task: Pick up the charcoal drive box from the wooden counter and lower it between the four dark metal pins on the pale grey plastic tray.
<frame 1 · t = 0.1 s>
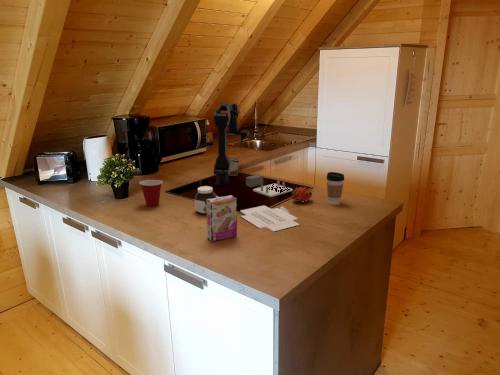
hand: (234, 145, 255), 15 cm above the worktop, tool pointing down, fingers open, 9 cm apart
dragon fruit: (301, 202, 198), on the worktop
food container: (230, 174, 247), on the worktop
coffee cup: (333, 203, 195), on the worktop
spread jar: (209, 211, 186), on the worktop
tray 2: (268, 219, 178), on the worktop
plastic cup: (153, 205, 195), on the worktop
candy bar box: (222, 237, 158), on the worktop
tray: (272, 190, 214), on the worktop
drive: (254, 185, 225), on the worktop
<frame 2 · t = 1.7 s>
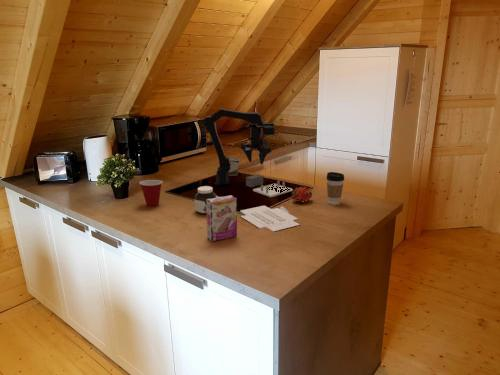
hand: (256, 163, 223), 12 cm above the worktop, tool pointing down, fingers open, 9 cm apart
nothing on the worktop moved.
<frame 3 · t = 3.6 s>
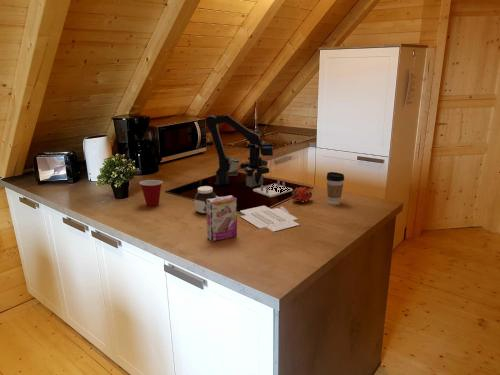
hand: (254, 182, 225), 1 cm above the worktop, tool pointing down, fingers closed on drive, 5 cm apart
drive: (254, 184, 225), on the worktop, touching gripper
everything else where it was.
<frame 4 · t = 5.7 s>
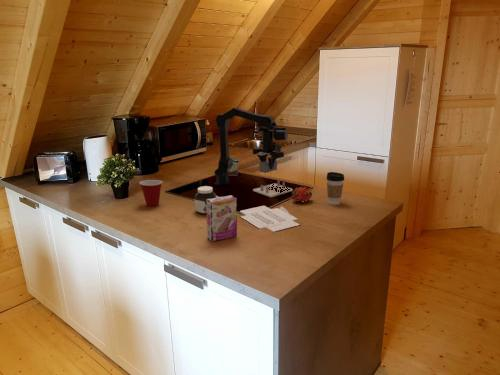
hand: (268, 168, 214), 12 cm above the worktop, tool pointing down, fingers closed on drive, 5 cm apart
drive: (268, 170, 215), point 10 cm above the worktop, touching gripper
everything else where it was.
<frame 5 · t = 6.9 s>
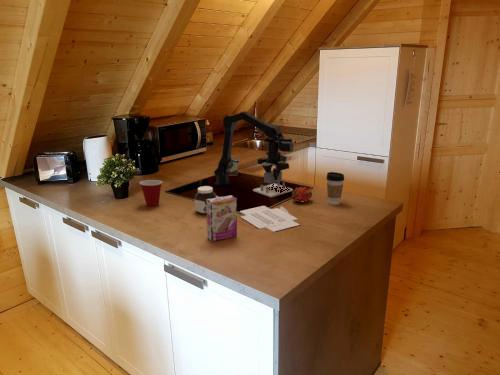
hand: (272, 179, 212), 7 cm above the worktop, tool pointing down, fingers closed on drive, 5 cm apart
drive: (272, 181, 213), point 5 cm above the worktop, touching gripper
everything else where it was.
when the fingers open (3 cm above the worktop, at t = 7.9 s): drive stays where it is, resting on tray.
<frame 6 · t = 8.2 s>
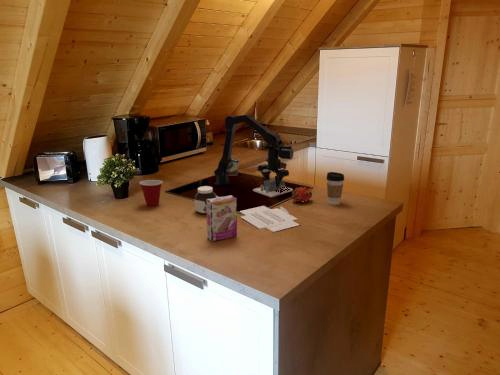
hand: (272, 185, 214), 3 cm above the worktop, tool pointing down, fingers open, 7 cm apart
drive: (272, 189, 214), point 1 cm above the worktop, touching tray
everything else where it was.
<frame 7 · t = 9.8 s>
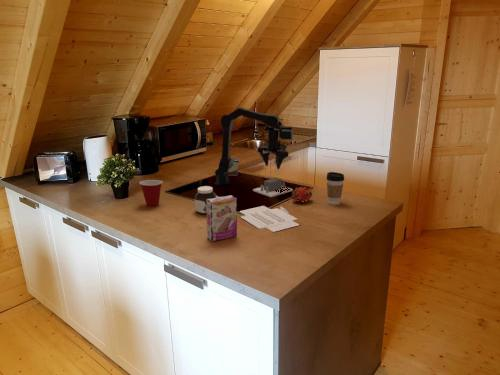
hand: (272, 167, 216), 12 cm above the worktop, tool pointing down, fingers open, 9 cm apart
nothing on the worktop moved.
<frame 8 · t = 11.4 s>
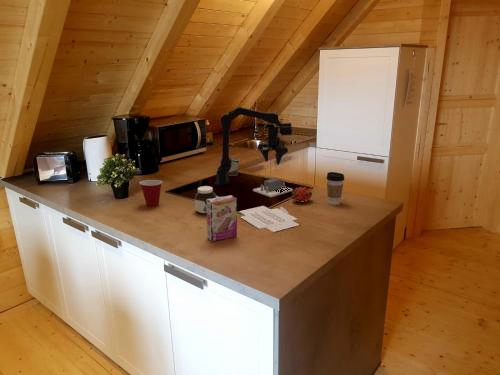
hand: (272, 163, 224), 12 cm above the worktop, tool pointing down, fingers open, 9 cm apart
nothing on the worktop moved.
at the end: drive 0.1 cm off-centre on the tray, point 1.0 cm above the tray's base; drive tilted 0°; the gripper is holding nothing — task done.
